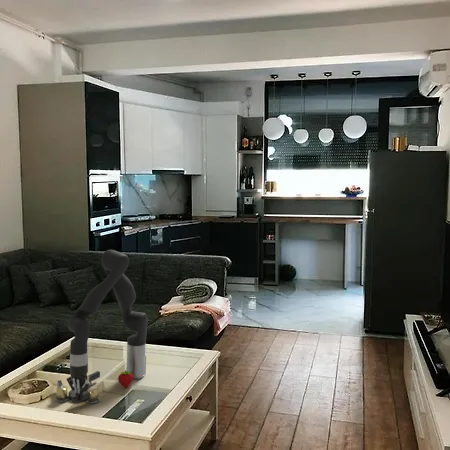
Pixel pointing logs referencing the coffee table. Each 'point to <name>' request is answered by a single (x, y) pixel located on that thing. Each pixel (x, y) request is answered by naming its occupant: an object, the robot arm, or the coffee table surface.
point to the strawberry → (125, 379)
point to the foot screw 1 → (61, 391)
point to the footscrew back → (93, 376)
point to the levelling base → (72, 393)
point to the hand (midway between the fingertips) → (79, 400)
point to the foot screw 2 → (87, 395)
